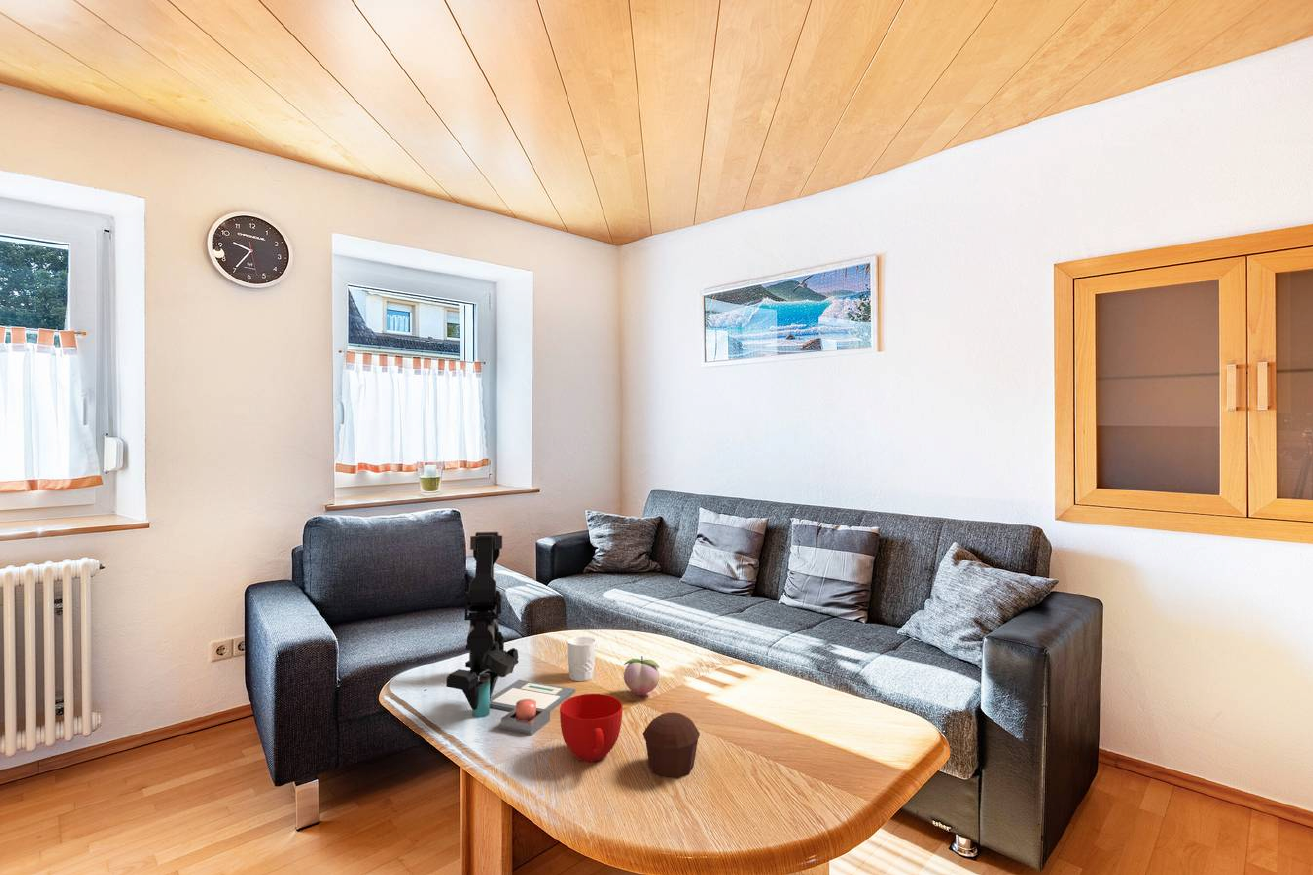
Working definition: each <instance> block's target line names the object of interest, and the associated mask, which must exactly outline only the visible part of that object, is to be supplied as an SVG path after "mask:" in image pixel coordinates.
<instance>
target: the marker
mask: <svg viewBox="0 0 1313 875" xmlns="http://www.w3.org/2000/svg"><path fill="white" fill-rule="evenodd" d="M479 682H484V684H483V685H482V686H481V687H480V688H479V694H478V704H477V709H476V710H473V709H472V708H471V714H472V715H471V716H472V717H473V718H478V719H479V718H485V717H488V716H489V715H490V713H491V712H490V711H491V709H490V708H491V707H490V674H489V673H482V674H480V677H479Z"/></svg>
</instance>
